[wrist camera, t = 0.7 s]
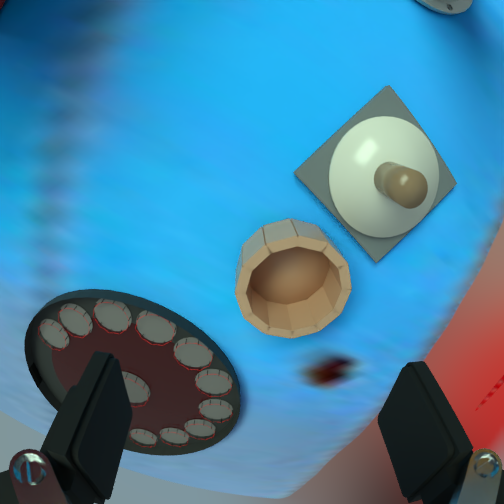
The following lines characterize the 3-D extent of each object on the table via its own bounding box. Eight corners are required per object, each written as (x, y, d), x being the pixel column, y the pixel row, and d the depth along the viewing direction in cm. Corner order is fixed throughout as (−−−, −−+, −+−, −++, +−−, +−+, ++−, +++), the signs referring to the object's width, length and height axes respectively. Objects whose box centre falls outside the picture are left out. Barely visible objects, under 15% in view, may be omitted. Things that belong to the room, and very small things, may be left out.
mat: (385, 86, 28) (389, 85, 27) (452, 181, 32) (456, 183, 31) (293, 172, 32) (294, 174, 31) (373, 259, 36) (376, 263, 35)
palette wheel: (6, 279, 36) (-4, 288, 34) (241, 293, 38) (241, 305, 35) (70, 428, 50) (67, 437, 48) (239, 450, 51) (239, 461, 49)
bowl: (289, 196, 33) (298, 212, 27) (353, 262, 36) (371, 288, 30) (217, 266, 36) (212, 293, 30) (284, 321, 39) (290, 353, 33)
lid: (389, 91, 27) (416, 88, 22) (452, 182, 31) (482, 195, 26) (301, 174, 31) (314, 185, 25) (376, 257, 35) (397, 281, 29)
